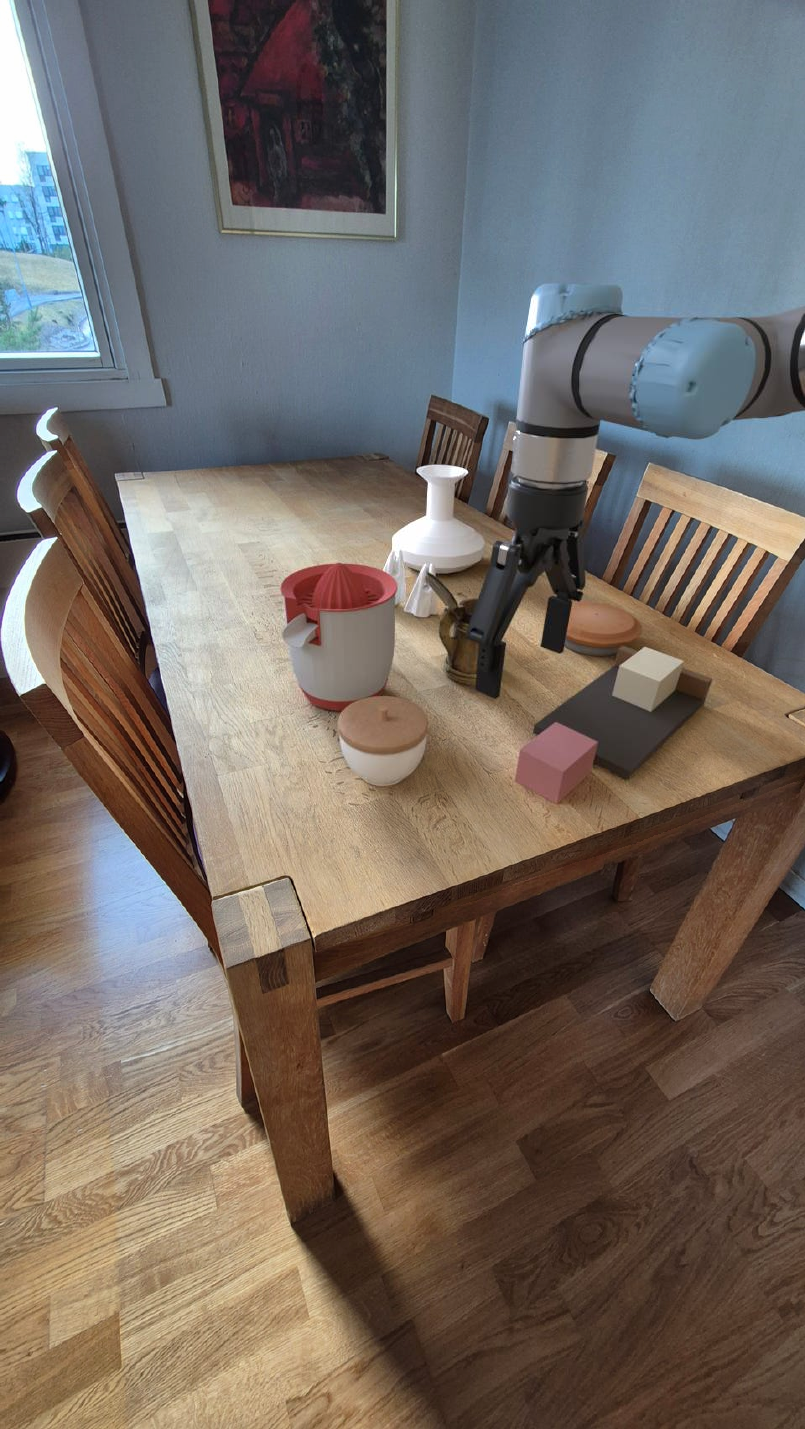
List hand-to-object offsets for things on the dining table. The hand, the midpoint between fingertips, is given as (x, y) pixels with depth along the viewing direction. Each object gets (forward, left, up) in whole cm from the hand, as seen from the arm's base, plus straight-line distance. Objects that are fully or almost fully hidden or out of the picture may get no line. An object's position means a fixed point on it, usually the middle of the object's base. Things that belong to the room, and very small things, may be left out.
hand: (521, 670), depth 72 cm
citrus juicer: (+27, +4, -14) cm, 31 cm away
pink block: (-6, -2, -14) cm, 15 cm away
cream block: (-6, -26, -12) cm, 29 cm away
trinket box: (+10, +12, -14) cm, 21 cm away
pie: (+9, -38, -14) cm, 42 cm away
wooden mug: (+18, -13, -14) cm, 27 cm away
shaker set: (+40, -24, -14) cm, 49 cm away
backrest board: (-6, -20, -14) cm, 25 cm away
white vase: (+51, -46, -14) cm, 70 cm away
